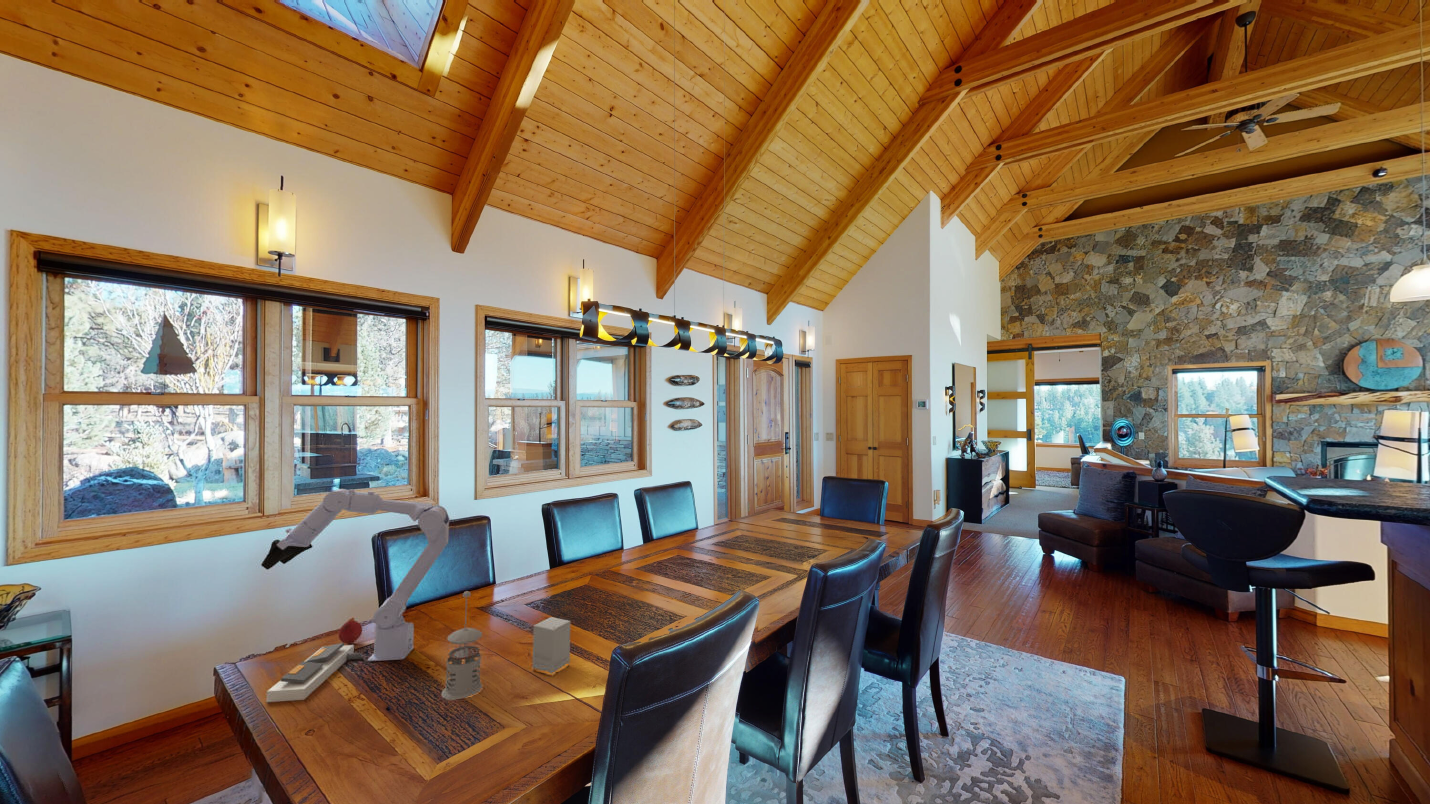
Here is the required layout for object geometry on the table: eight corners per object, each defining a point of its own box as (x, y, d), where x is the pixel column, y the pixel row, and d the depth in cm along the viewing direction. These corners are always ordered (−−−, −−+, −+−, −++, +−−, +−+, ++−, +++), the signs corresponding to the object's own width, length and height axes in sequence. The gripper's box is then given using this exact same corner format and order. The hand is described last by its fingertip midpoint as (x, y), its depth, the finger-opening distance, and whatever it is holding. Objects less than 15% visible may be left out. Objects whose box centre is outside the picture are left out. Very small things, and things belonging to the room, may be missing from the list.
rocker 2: (344, 645, 149) (343, 641, 149) (327, 659, 140) (326, 656, 140) (324, 649, 148) (324, 646, 148) (306, 664, 139) (305, 660, 139)
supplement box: (570, 665, 148) (571, 620, 148) (551, 677, 141) (553, 629, 142) (550, 660, 151) (551, 615, 152) (531, 671, 144) (532, 624, 145)
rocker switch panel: (366, 653, 152) (367, 644, 153) (320, 698, 128) (320, 687, 128) (322, 655, 150) (322, 646, 150) (266, 702, 126) (266, 691, 126)
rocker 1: (322, 666, 138) (323, 662, 138) (303, 683, 129) (304, 679, 130) (301, 664, 137) (302, 660, 137) (280, 681, 129) (281, 677, 129)
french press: (440, 703, 127) (445, 600, 128) (441, 682, 137) (445, 586, 138) (485, 695, 131) (489, 594, 132) (481, 674, 142) (485, 581, 143)
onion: (349, 649, 154) (350, 622, 155) (333, 647, 156) (334, 620, 156) (366, 641, 160) (367, 615, 160) (350, 639, 161) (351, 613, 162)
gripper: (314, 513, 154) (276, 550, 150) (286, 518, 139) (243, 560, 136) (334, 528, 154) (297, 566, 151) (307, 535, 140) (266, 577, 137)
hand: (273, 564), depth 144 cm, fingers open, 7 cm apart
